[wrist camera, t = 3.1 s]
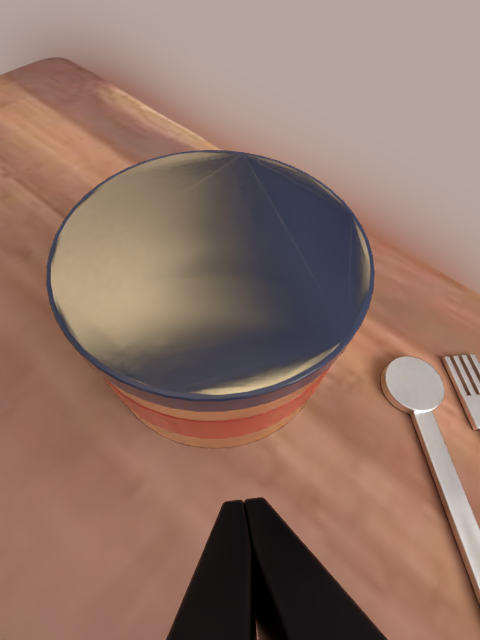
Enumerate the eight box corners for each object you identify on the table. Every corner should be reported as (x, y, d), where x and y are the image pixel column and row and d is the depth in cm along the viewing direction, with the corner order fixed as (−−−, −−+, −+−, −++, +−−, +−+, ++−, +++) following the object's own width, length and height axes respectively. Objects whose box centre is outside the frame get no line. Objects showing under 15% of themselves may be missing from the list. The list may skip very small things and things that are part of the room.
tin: (369, 367, 22) (444, 283, 15) (175, 507, 18) (136, 492, 10) (245, 233, 28) (252, 122, 20) (75, 312, 24) (2, 209, 16)
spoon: (539, 631, 16) (554, 636, 15) (466, 643, 15) (477, 649, 15) (424, 358, 23) (431, 353, 22) (373, 363, 22) (377, 358, 22)
